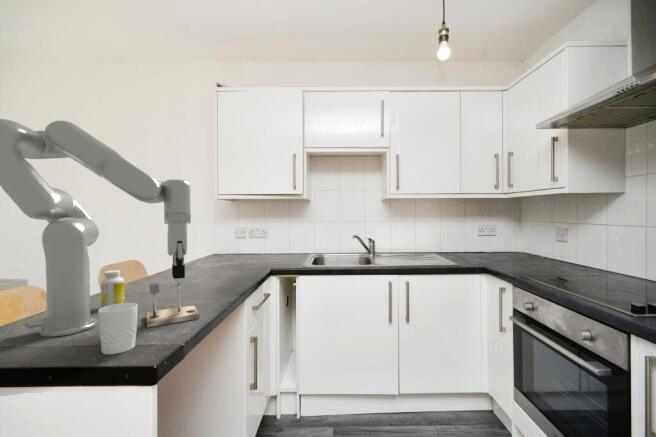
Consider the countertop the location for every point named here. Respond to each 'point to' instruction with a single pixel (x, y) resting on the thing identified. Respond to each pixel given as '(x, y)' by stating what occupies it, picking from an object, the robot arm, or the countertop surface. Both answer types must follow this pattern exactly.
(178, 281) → the slider block
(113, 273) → the supplement bottle
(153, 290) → the divider frame
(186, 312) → the hole plate
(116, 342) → the white cup
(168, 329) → the countertop surface
